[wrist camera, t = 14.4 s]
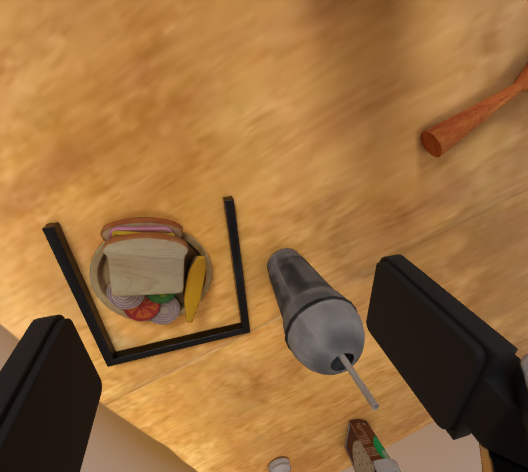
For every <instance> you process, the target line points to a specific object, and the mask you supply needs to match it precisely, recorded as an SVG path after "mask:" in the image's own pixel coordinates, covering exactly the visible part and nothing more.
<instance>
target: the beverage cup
mask: <svg viewBox="0 0 528 472" xmlns="http://www.w3.org/2000/svg"><path fill="white" fill-rule="evenodd" d="M267 269H268V272H269V277H270V281H271V284H272V287H273V290H274V293H275V296H276V299H277V303H278V306H279V309H280V312H281V315H282V318H283V327H284V333H285V341H286V343H287V346H288V348H289V349H290V350H291V351H292V352H293V354H294V356H295V357H296V358H297V359H298V360H299V361H300V362H301V363H302V364H303V365H304V366H306V367H307V368H308V369H310V370H311V371H314V372H317V373H320V374H324V375H335V374H339V373H342V372H345V371H348V372H349V374H350V375H351V377H352V378H353V380H354V381H355V383H356V384H357V386H358V387H359V389H360V390H361V392H362V394H363V395H364V397H365V398H366V400H367V401H368V403H369V404H370V406H371V407H372V409H373V410H376V409H377V408H378V407H379V405H378V403H377V402H376V400H375V399H374V397H373V396H372V394H371V393H370V392H369V390H368V389H367V387H366V386H365V384H364V383H363V381H362V380H361V378H360V377H359V375H358V374H357V372H356V371H355V369H354V368H353V367H352V366H353V365H354V364H355V363H356V362H357V361H358V359H359V358H360V356H361V354H362V351H363V347H364V342H365V333H364V329H363V324H362V321H361V318H360V316H359V315H358V313H357V310H356V307H355V306H354V305H353V304H352V302H351V301H349V300H347V299H346V298H345V297H344V296H342V295H341V294H340V293H339V292H337V291H335V290H334V289H333V288H332V287H331V286H330V285H329V284H328V283H327V282H326V281H325V280H324V279H323V278H322V277H321V276H320V275H319V274H318V272H317V271H316V270H315V269H314V268H313V267H312V266H311V265H310V264H309V263H308V262H307V261H306V260H305V259H304V258H303V257H302V256H300V255H299V254H298V253H297V251H295V250H293V249H288V248H286V249H281V250H279V251H276V252H275V253H274V254H273V255H272V256H271V257H270V259H269V261H268V264H267Z"/></svg>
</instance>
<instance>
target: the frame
mask: <svg viewBox="0 0 528 472" xmlns="http://www.w3.org/2000/svg"><path fill="white" fill-rule="evenodd" d="M223 201H224V208H225V215H226V222H227V230H228V237H229V244H230V251H231V258H232V265H233V272H234V279H235V286H236V293H237V300H238V307H239V314H240V321H241V323H237V324H233V325H229V326H224V327H220V328H216V329H212V330H207V331H203V332H199V333H195V334H190V335H186V336H182V337H178V338H173V339H169V340H165V341H160V342H156V343H152V344H148V345H143V346H139V347H135V348H131V349H126V350H122V351H118V352H115V350H114V347H113V345H112V343H111V341H110V338H109V336H108V334H107V332H106V329H105V327H104V325H103V322H102V320H101V318H100V316H99V313H98V311H97V309H96V307H95V304H94V302H93V300H92V297H91V295H90V293H89V291H88V288H87V286H86V284H85V282H84V279H83V277H82V275H81V273H80V270H79V268H78V266H77V263H76V261H75V259H74V257H73V254H72V252H71V250H70V248H69V245H68V243H67V241H66V238H65V236H64V234H63V232H62V229H61V227H60V225H59V223H58V222H56V223H50V224H47V225H46V226H45V227H44V228H43V229H42V230H43V232H44V234H45V236H46V238H47V240H48V242H49V244H50V246H51V248H52V251H53V253H54V255H55V257H56V259H57V261H58V263H59V265H60V267H61V270H62V272H63V274H64V276H65V278H66V280H67V282H68V284H69V286H70V288H71V291H72V293H73V295H74V297H75V299H76V301H77V303H78V305H79V307H80V310H81V312H82V314H83V316H84V318H85V320H86V322H87V324H88V326H89V329H90V331H91V333H92V335H93V337H94V339H95V341H96V343H97V345H98V347H99V350H100V352H101V354H102V356H103V358H104V360H105V362H106V364H107V366H108V367H109V366H113V365H117V364H121V363H125V362H129V361H133V360H137V359H142V358H146V357H150V356H154V355H158V354H162V353H166V352H170V351H175V350H179V349H183V348H187V347H191V346H195V345H199V344H203V343H208V342H212V341H216V340H220V339H224V338H228V337H232V336H236V335H241V334H245V333H249V332H250V326H249V318H248V310H247V302H246V294H245V286H244V278H243V270H242V262H241V254H240V246H239V238H238V230H237V222H236V214H235V205H234V199H233V197H232V196H230V197H223Z"/></svg>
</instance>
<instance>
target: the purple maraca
mask: <svg viewBox="0 0 528 472" xmlns="http://www.w3.org/2000/svg"><path fill="white" fill-rule="evenodd" d="M526 91H528V63H527V64H526V66H525V67H524V69H523V70H522V72H521V73H520V75H519V77H518V78H517V80H516V81H515V83H514V84H513V85H511V86H510V87H508V88H506V89H504V90H502V91H500V92H498V93H496V94H494V95H492V96H491V97H489V98H487V99H485V100H483V101H481V102H479V103H477V104H475V105H474V106H472V107H470V108H468V109H466V110H464V111H462V112H460V113H458V114H456V115H455V116H453V117H451V118H449V119H447V120H445V121H443V122H441V123H439V124H438V125H436V126H434V127H432V128H430V129H428V130H426V131H424V132H423V133H422V134H421V141H422V144H423V146H424V147H425V149H426V150H427V151H428V152H429V153H430V154H431V155H433V156H435V157H440V156H441V155H442V154H444V153H445V152H446V151H447V150H449V149H450V148H451V147H452V146H454V145H455V144H456V143H457V142H459V141H460V140H461V139H462V138H464V137H465V136H466V135H467V134H469V133H470V132H471V131H472V130H474V129H475V128H476V127H477V126H479V125H480V124H481V123H482V122H483V121H485V120H486V119H487V118H488V117H490V116H491V115H492V114H493V113H495V112H496V111H497V110H498V109H500V108H501V107H502V106H503V105H505V104H506V103H507V102H508V101H510V100H511V99H512V98H513V97H515V96H516V95H517V94H518V93H521V92H526Z"/></svg>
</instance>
